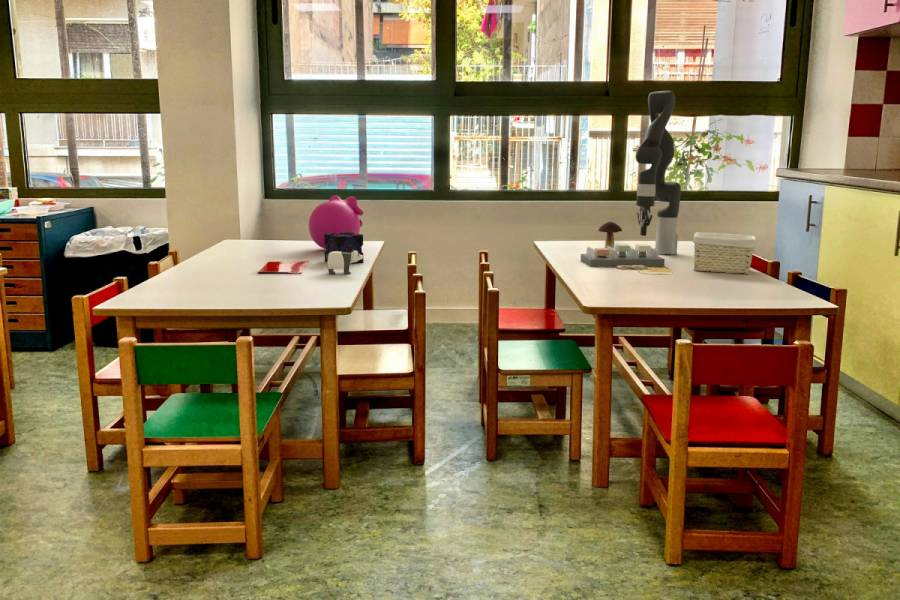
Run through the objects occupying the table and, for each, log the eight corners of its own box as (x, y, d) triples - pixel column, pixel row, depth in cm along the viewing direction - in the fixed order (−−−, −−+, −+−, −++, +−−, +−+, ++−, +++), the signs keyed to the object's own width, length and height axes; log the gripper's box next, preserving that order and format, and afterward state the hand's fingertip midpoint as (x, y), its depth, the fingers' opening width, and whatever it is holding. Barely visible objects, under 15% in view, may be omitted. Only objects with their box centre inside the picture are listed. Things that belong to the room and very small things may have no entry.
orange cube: (605, 258, 336) (606, 248, 335) (608, 260, 331) (609, 249, 330) (594, 258, 335) (594, 248, 334) (597, 260, 330) (598, 249, 330)
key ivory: (645, 254, 337) (646, 244, 336) (649, 256, 332) (650, 245, 331) (634, 254, 337) (635, 244, 336) (638, 256, 332) (639, 245, 331)
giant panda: (326, 275, 298) (325, 250, 296) (325, 272, 304) (325, 248, 302) (364, 274, 301) (364, 249, 299) (363, 271, 306) (362, 247, 304)
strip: (643, 267, 324) (643, 264, 324) (647, 269, 320) (647, 266, 320) (615, 267, 323) (615, 265, 323) (619, 269, 319) (619, 266, 319)
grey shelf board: (651, 260, 344) (652, 245, 342) (664, 266, 328) (665, 251, 327) (580, 260, 341) (581, 245, 339) (590, 266, 325) (591, 251, 324)
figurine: (371, 249, 367) (370, 196, 362) (338, 255, 347) (337, 199, 342) (333, 245, 379) (332, 193, 374) (299, 251, 359) (297, 196, 354)
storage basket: (752, 269, 323) (755, 234, 320) (753, 276, 308) (756, 239, 305) (692, 265, 331) (695, 231, 328) (690, 271, 316) (693, 235, 313)
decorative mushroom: (607, 256, 355) (609, 223, 352) (592, 252, 364) (593, 221, 361) (625, 254, 360) (627, 222, 357) (610, 251, 369) (612, 220, 366)
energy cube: (338, 265, 321) (337, 236, 319) (324, 261, 331) (324, 233, 328) (363, 263, 328) (363, 234, 326) (349, 259, 338) (349, 231, 335)
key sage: (625, 254, 336) (626, 244, 335) (629, 256, 332) (630, 245, 331) (614, 254, 336) (615, 244, 335) (618, 256, 331) (618, 245, 330)
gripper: (660, 196, 323) (657, 237, 327) (649, 194, 336) (646, 233, 340) (642, 195, 322) (639, 237, 326) (632, 193, 335) (629, 233, 339)
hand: (643, 235), depth 333 cm, fingers closed
